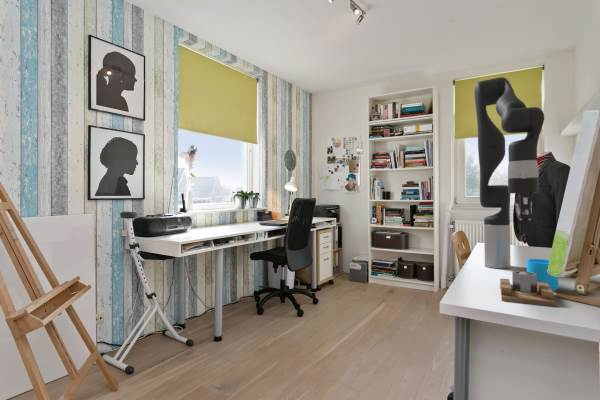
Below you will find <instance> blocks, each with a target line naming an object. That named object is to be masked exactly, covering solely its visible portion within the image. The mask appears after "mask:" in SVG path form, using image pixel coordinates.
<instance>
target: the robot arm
mask: <svg viewBox="0 0 600 400" xmlns="http://www.w3.org/2000/svg"><path fill="white" fill-rule="evenodd" d="M473 91H474V93H473V94H474V104H475V112H476V121H477V151H478V163H479V202H480V206H481V207H482V208H488V209H493V208H494V209H495V208H498V209H500V210H499V211H498V212H497V213H494V214H491V215H487V216H486V217H484V219H483V224H484V225H483V228H484V229H483V233H484V235H483V238H484V239H483V240H484V246H483V247H484V266H485V267H488V268H491V269H510V268H511V267H512V266H511V262H512V261H511V260H512V259H511V217H510V215H511V213H510V210H511V208H510V206H511V194H517V196H516V198H515V200H514V206H515V214H516V218H517V230H518V231H519V232H520V233H519V234H521V235H529V234H530V233H531V229H530V228H531V227H530V225H531V224H530V223H531V222H530V221H531V219H532V212H533V209H532V206H533V200H532V198H531V196H530V194H538V193H539V186H540V184H539V183H540V181H539V180H540V179H539V164H538V143H539V139H540V135H541V131H542V129H543V125H544V121H545V114H544V111H543V110H542V109H541V108H540V107H536V106H531V107H527V106H526V104H525V103H524V102H523V101H522V100H521V99H520V98H519V97H518V96H517V95H516V93H515V90H514V89H513V86H512V85H511V83H510V81H509V80H508V79H507V78H506V77H502V76H501V77H495V78H489V79H485V80H480V81H477V82H476V83H475V85H474V90H473ZM489 106H495V110H496V113H497V114H498V116H499V117H500V118H501V123H500V124H501V129H502V130H503V131H504V133H507V134H518V133H519V134H520V133H523V134H524V133H526V136H525V138H523V139H520V140H515V141H512V142H511V143H509V144H508V166H507V184H499V185H498V184H492V185H489V183H490V179H491V178H492V176H493V174H494V172H495V171H496V170H497V168H498V167H499V166H500V164H501V163H502V162H503V161H504V158H505V156H506V139H505V135H504V134H503V132H502V131H501V130H500V129H499V128H498V127H497V125H496V124H495V123H494V122H493V121H492V119H491V117H490V116H489V114H488V110H487V107H489Z"/></svg>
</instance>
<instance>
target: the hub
mask: <svg viewBox="0 0 600 400" xmlns="http://www.w3.org/2000/svg"><path fill="white" fill-rule="evenodd" d="M520 272H524V273H530V274H531V275H521V274H518V273H520ZM511 278H512V285H513V291H517V292H520V293H530V294H531V293H537V274H536V273H532V272H527V271H523V270H522V271H521V270H517V271H516V270H515V271H512V277H511Z"/></svg>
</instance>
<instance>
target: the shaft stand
mask: <svg viewBox="0 0 600 400" xmlns="http://www.w3.org/2000/svg"><path fill="white" fill-rule="evenodd" d="M524 272H525V271H524ZM524 272H520V273H518V274H521V275H531V274H530V273H524ZM499 282H500V284H499V288H500V297H501V301H502V302H508V303H520V304H526V305H527V304H530V305H538V306H549V307H555V306H556V301H555V300H554V299H555V295H554V290H552V289H551V288H550V286H549V285H548V283H547V282H537V293H531V294H530V293H520V292H517V291H513V283H512V284H511V282H510V279H509V278H499Z"/></svg>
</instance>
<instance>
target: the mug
mask: <svg viewBox="0 0 600 400" xmlns="http://www.w3.org/2000/svg"><path fill="white" fill-rule="evenodd" d="M549 260H550V259H542V258H530V259H529V258H528V259H527V260H526V272H532V273H536V274H537V282H547V283H548V285H549V286H550V288H551V289H552V291H556V289H558V290H559V286H560V285H559V276H558V277H554V276H551V275H549V274H548V273H547V269H548V265H549Z"/></svg>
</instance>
